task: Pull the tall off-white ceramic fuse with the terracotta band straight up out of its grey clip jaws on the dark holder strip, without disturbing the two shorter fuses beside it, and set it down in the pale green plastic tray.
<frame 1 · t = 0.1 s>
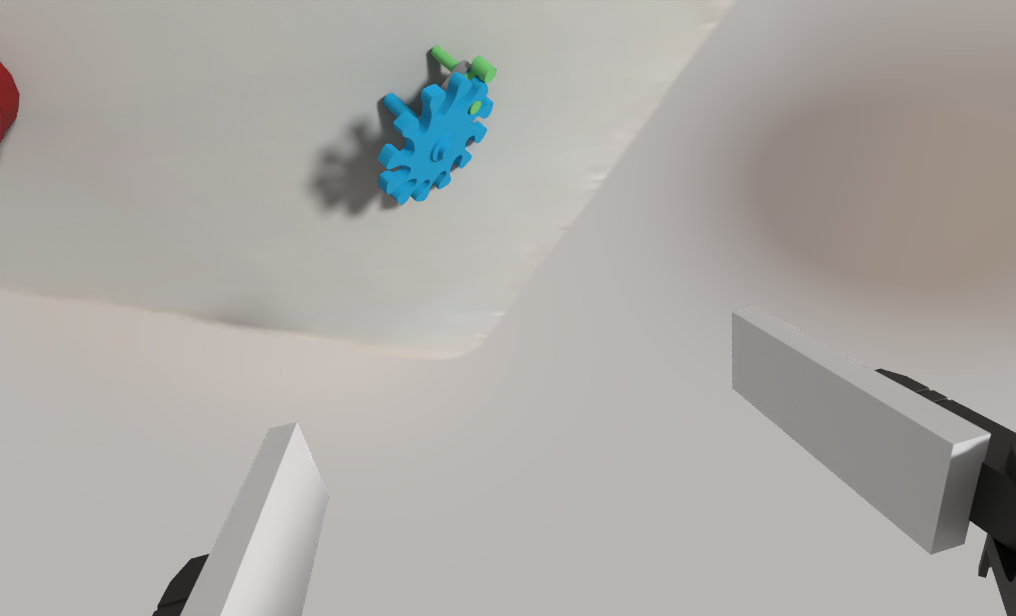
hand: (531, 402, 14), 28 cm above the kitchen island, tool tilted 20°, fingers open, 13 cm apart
blue knobby plastic piece: (434, 116, 36), on the kitchen island
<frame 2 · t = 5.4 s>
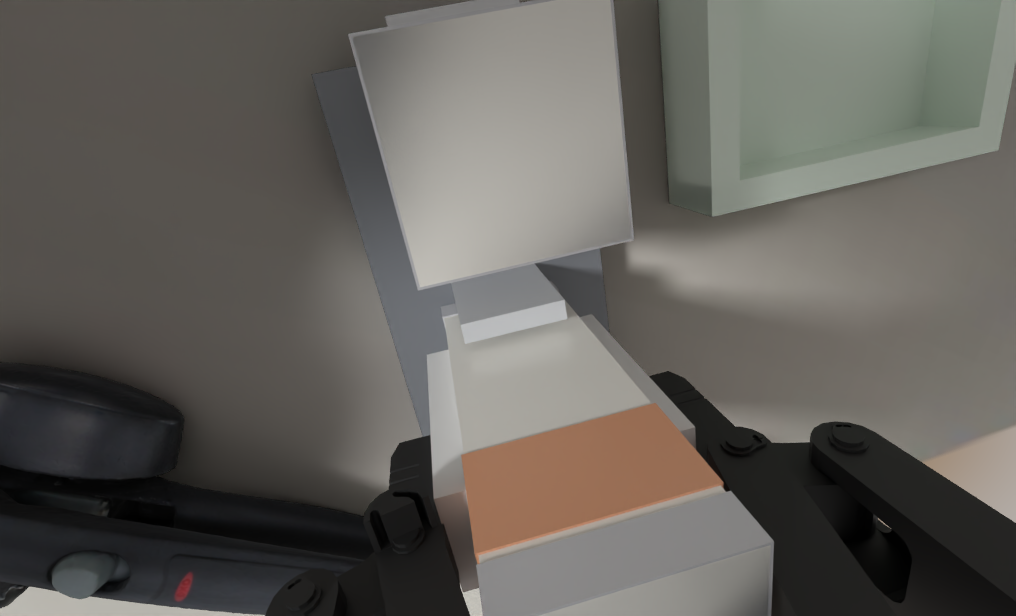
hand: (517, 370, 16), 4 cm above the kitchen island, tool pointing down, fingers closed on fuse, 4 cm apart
can opener: (224, 480, 20), on the kitchen island
fuse b: (464, 136, 15), point 1 cm above the kitchen island, touching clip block
fuse: (506, 343, 18), point 2 cm above the kitchen island, touching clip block, gripper
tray: (804, 19, 18), on the kitchen island
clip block: (500, 328, 20), on the kitchen island
when the fingers open (4 cm above the kitchen island, at t = 12.5 s): fuse drops 1 cm, resting on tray.
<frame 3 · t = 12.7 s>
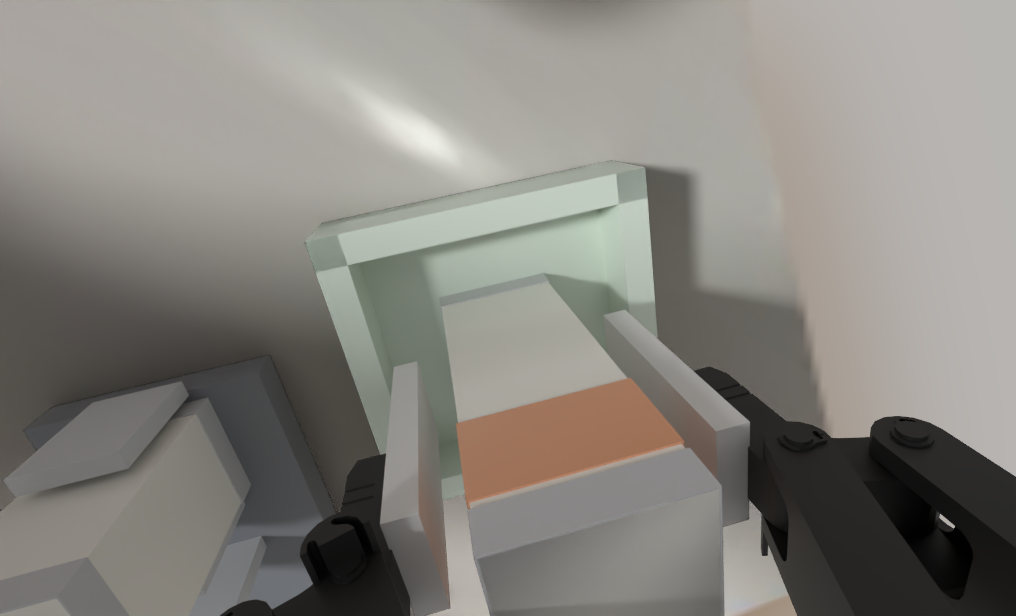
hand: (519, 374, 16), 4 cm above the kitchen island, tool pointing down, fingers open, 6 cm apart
fuse b: (174, 457, 18), point 1 cm above the kitchen island, touching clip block
fuse: (501, 332, 19), point 1 cm above the kitchen island, touching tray
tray: (498, 323, 20), on the kitchen island
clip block: (261, 565, 22), on the kitchen island
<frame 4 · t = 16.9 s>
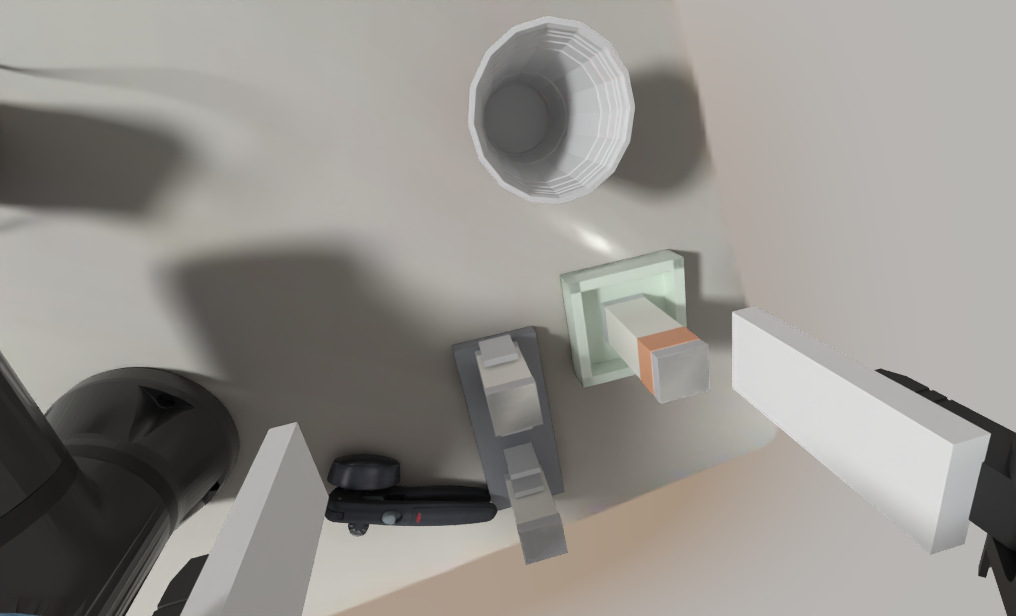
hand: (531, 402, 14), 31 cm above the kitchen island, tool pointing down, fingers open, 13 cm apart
plastic cup: (517, 117, 41), on the kitchen island
can opener: (413, 483, 52), on the kitchen island
fuse b: (499, 364, 47), point 1 cm above the kitchen island, touching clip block
fuse: (622, 316, 48), point 1 cm above the kitchen island, touching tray
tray: (619, 313, 49), on the kitchen island
fuse a: (525, 484, 53), point 1 cm above the kitchen island, touching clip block
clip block: (510, 419, 51), on the kitchen island
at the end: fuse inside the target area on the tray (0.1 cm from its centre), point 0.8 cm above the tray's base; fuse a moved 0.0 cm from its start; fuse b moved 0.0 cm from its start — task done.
